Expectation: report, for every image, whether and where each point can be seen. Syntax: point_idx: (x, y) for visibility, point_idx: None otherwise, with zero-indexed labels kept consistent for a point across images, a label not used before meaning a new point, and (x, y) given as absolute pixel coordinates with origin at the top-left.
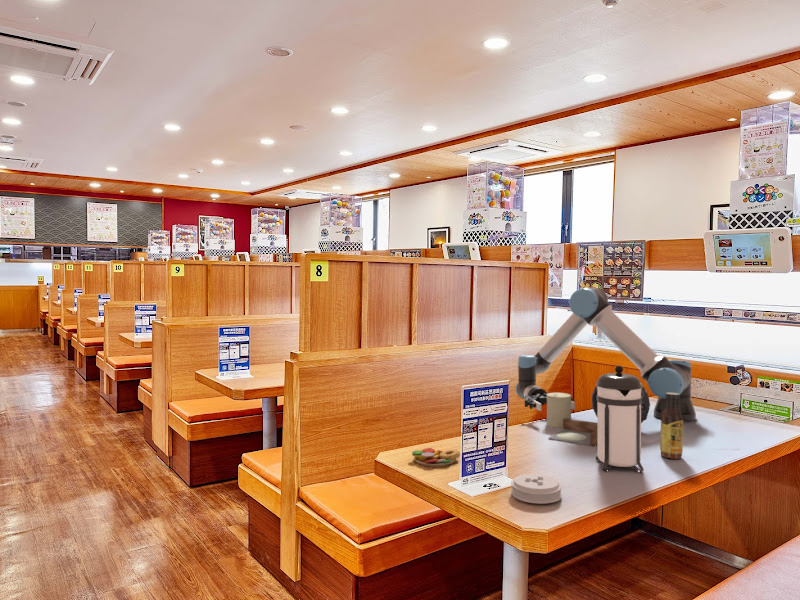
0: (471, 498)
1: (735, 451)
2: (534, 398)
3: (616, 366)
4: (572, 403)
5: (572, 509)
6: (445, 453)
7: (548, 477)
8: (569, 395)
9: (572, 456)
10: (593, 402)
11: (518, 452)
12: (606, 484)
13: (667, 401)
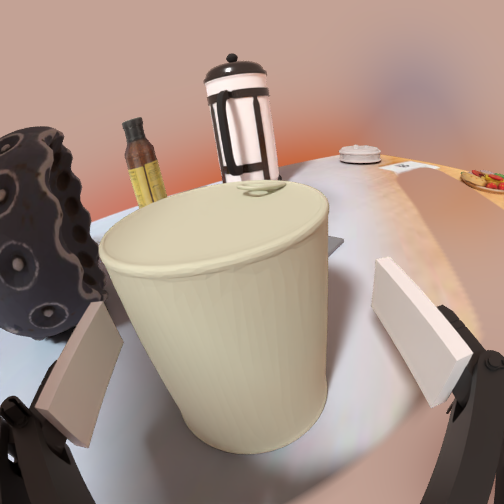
0: (409, 160)
1: None
2: (471, 494)
3: (234, 54)
4: (103, 318)
5: (333, 158)
6: (478, 177)
7: (349, 149)
8: (140, 213)
9: None
10: (68, 249)
11: (400, 198)
12: (291, 171)
13: (142, 128)
